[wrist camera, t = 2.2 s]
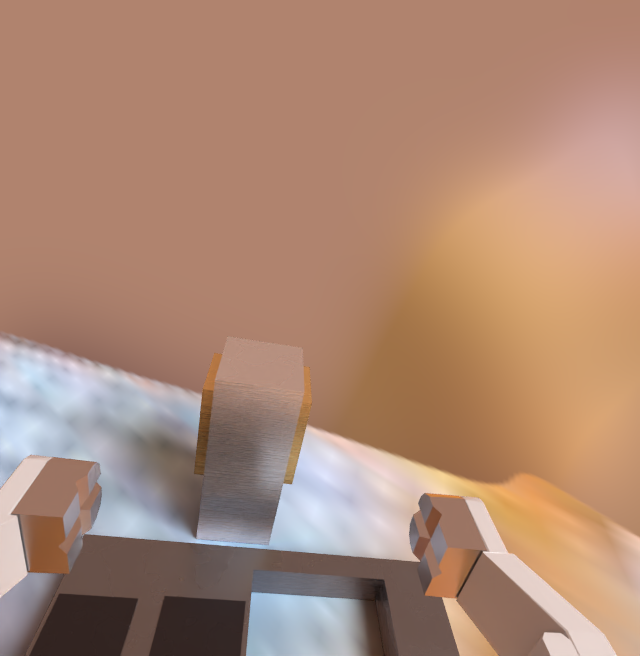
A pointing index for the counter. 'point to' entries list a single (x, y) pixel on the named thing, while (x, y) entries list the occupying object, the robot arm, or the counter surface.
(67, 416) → the counter surface
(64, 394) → the counter surface
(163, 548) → the rail
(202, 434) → the brushed metal pillar
